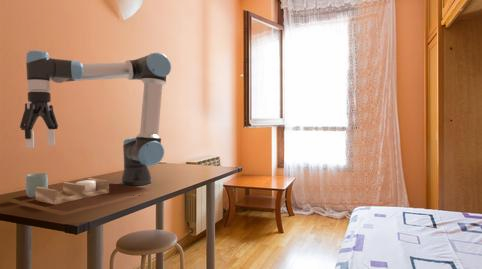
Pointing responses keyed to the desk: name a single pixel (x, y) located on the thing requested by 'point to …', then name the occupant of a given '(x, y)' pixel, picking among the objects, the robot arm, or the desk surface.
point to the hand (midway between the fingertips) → (41, 146)
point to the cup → (35, 183)
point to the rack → (70, 192)
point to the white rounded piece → (88, 185)
